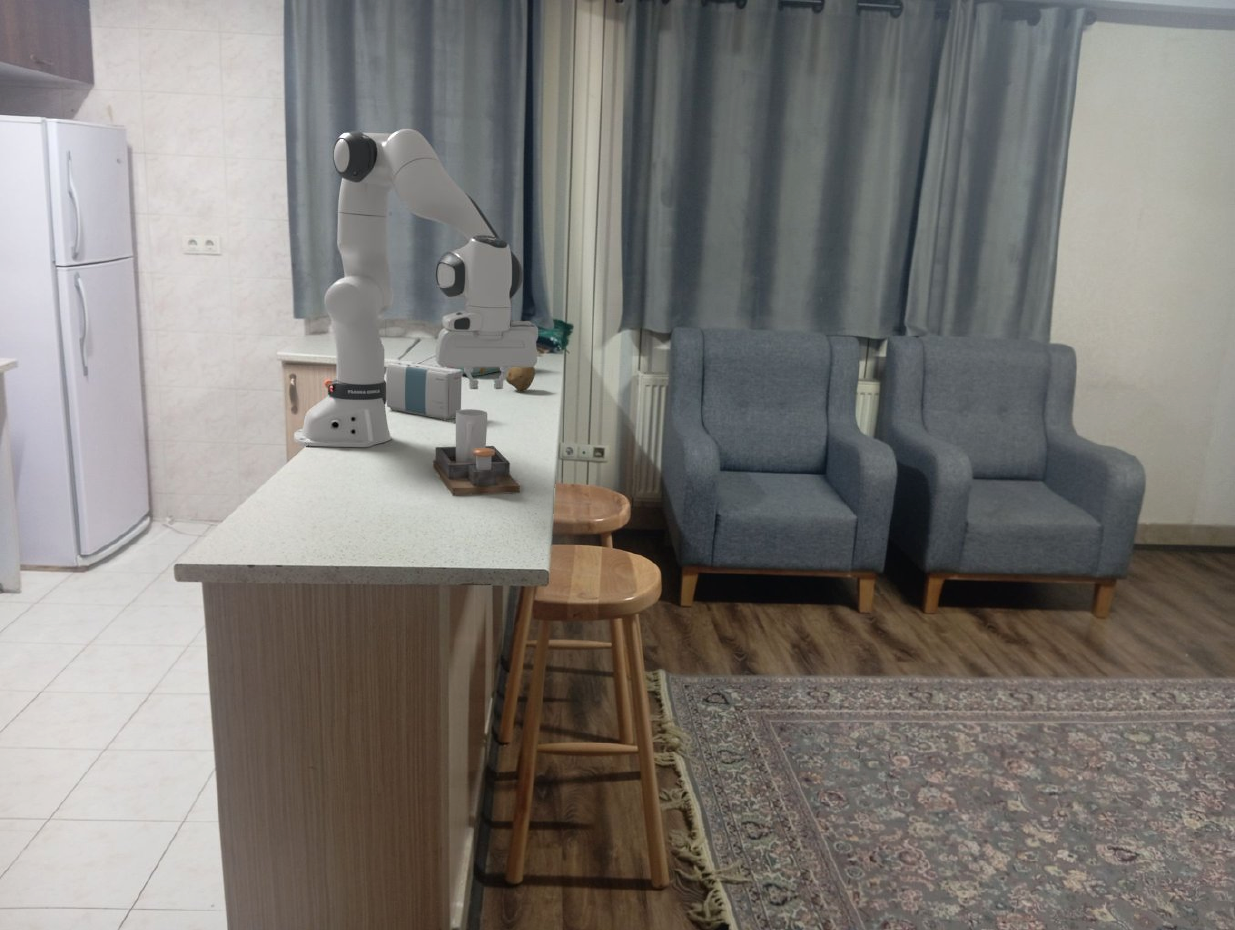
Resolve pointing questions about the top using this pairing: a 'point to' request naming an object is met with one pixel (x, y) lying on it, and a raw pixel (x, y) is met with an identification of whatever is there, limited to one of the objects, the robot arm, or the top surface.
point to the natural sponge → (520, 377)
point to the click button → (483, 458)
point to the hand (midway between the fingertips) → (486, 388)
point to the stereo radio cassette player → (424, 389)
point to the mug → (470, 434)
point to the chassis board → (474, 474)
